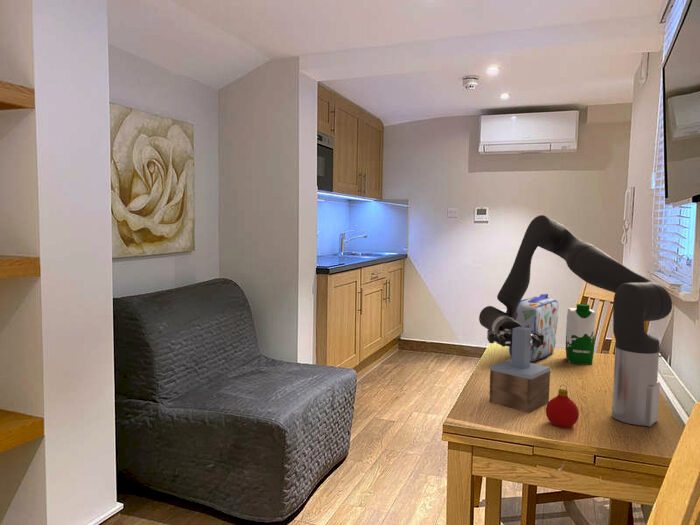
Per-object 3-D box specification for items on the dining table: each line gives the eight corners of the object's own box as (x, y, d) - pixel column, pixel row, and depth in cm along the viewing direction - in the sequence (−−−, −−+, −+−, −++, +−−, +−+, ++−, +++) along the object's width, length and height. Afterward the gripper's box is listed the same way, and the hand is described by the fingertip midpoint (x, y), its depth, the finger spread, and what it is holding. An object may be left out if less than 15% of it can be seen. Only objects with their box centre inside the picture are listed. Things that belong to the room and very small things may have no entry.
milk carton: (567, 363, 176) (570, 305, 175) (563, 357, 185) (565, 301, 184) (595, 365, 175) (598, 306, 173) (589, 358, 183) (592, 302, 182)
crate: (548, 404, 136) (550, 370, 135) (529, 415, 128) (530, 379, 127) (509, 394, 144) (510, 362, 143) (489, 404, 136) (490, 370, 135)
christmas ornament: (574, 422, 124) (576, 381, 123) (581, 434, 117) (583, 391, 116) (542, 420, 125) (544, 379, 124) (547, 431, 118) (549, 388, 118)
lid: (549, 376, 135) (552, 328, 134) (530, 385, 127) (532, 335, 127) (510, 367, 143) (512, 322, 142) (490, 375, 135) (491, 328, 134)
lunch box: (531, 346, 200) (533, 289, 198) (559, 351, 194) (562, 292, 192) (505, 361, 178) (507, 297, 177) (535, 366, 172) (538, 300, 170)
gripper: (482, 317, 151) (493, 328, 135) (533, 318, 150) (550, 329, 134) (481, 342, 152) (492, 356, 136) (531, 344, 151) (548, 358, 135)
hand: (521, 343), depth 135 cm, fingers open, 8 cm apart
